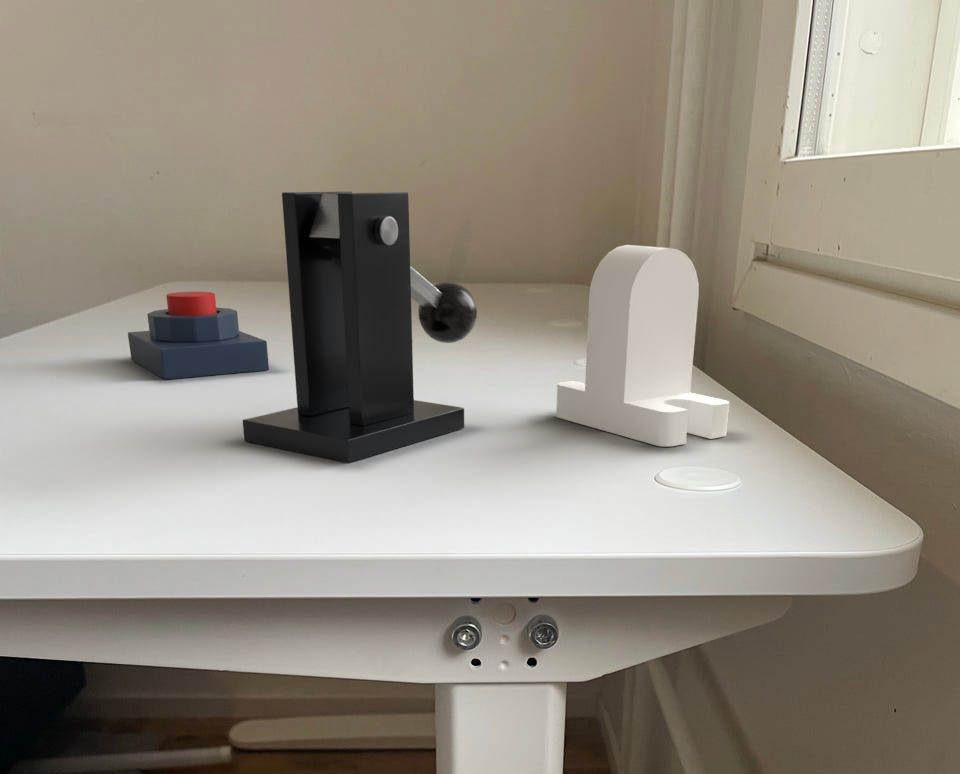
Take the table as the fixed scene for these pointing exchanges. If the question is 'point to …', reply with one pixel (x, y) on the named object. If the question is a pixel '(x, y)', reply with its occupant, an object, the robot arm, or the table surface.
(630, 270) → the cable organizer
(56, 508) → the table surface
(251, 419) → the bracket
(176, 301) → the stop button
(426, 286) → the lever
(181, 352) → the switch box
